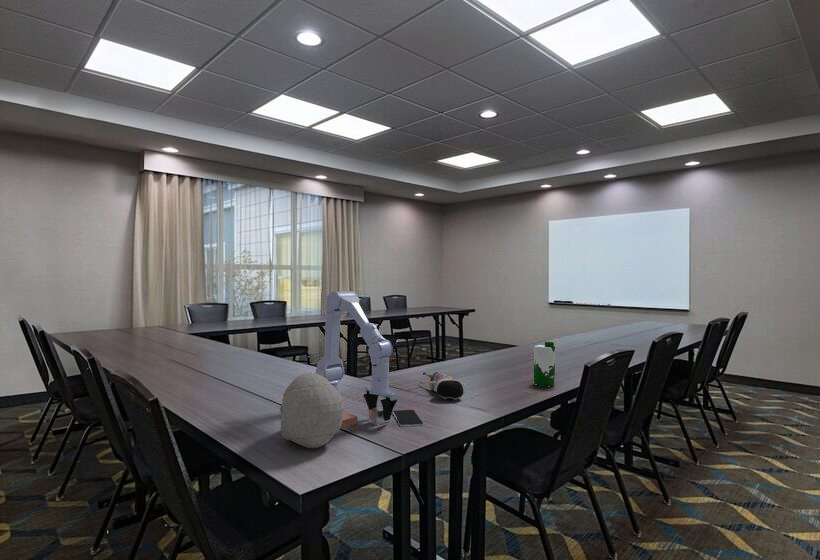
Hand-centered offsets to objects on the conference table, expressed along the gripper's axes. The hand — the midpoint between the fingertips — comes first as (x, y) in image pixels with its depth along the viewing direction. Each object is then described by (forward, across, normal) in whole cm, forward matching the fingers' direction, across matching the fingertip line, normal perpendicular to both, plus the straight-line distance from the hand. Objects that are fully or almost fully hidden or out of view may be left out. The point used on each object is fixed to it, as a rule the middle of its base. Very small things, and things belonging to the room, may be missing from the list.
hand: (379, 417), depth 146 cm
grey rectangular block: (+2, 0, 0) cm, 2 cm away
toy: (+2, -12, +45) cm, 47 cm away
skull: (+2, -2, -26) cm, 26 cm away
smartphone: (+2, +4, +9) cm, 10 cm away
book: (+2, -10, -11) cm, 15 cm away
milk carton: (+2, +9, +91) cm, 91 cm away
